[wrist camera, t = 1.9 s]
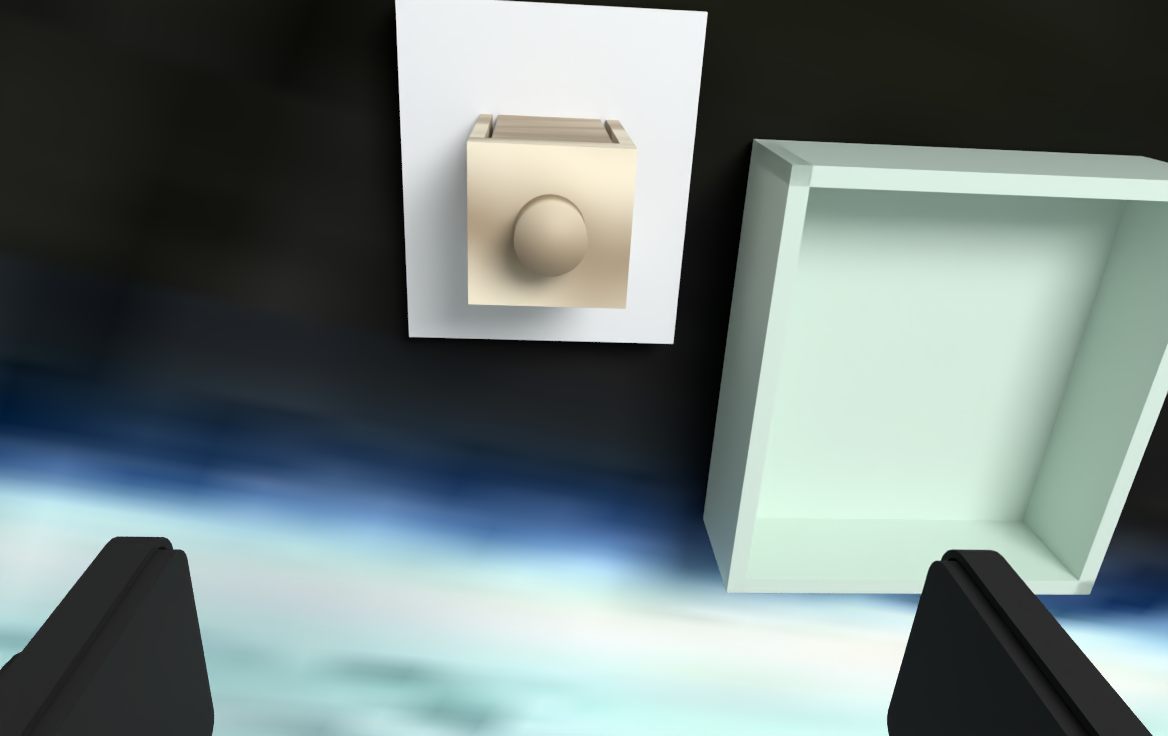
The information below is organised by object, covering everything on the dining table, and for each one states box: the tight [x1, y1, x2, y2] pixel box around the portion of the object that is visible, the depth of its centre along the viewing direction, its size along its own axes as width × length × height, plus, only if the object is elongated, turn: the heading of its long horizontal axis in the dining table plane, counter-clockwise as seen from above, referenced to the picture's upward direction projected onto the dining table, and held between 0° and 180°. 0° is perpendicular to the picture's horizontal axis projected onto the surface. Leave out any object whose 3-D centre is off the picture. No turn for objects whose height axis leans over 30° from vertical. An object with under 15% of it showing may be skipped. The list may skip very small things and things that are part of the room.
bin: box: [703, 139, 1168, 594], centre depth 38 cm, size 20×18×6 cm
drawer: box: [467, 114, 638, 309], centre depth 30 cm, size 6×6×8 cm
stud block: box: [395, 0, 708, 344], centre depth 33 cm, size 14×12×7 cm
